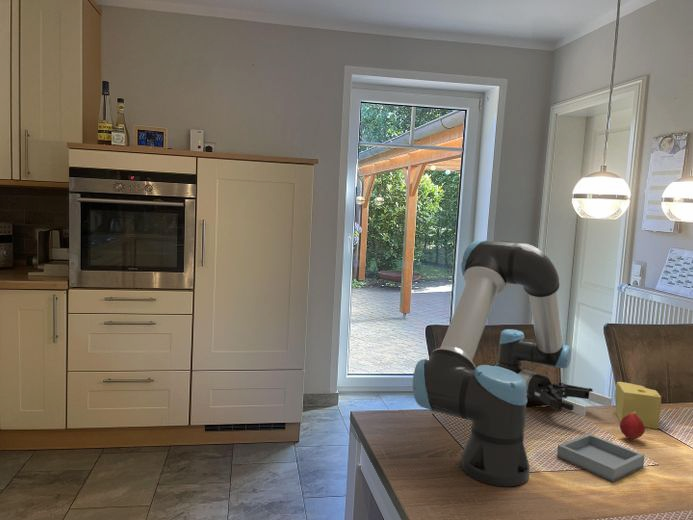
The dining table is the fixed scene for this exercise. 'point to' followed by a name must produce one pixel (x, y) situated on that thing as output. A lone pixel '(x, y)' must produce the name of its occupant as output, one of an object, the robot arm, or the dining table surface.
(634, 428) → the onion
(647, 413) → the cheese
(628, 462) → the tray
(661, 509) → the dining table surface
